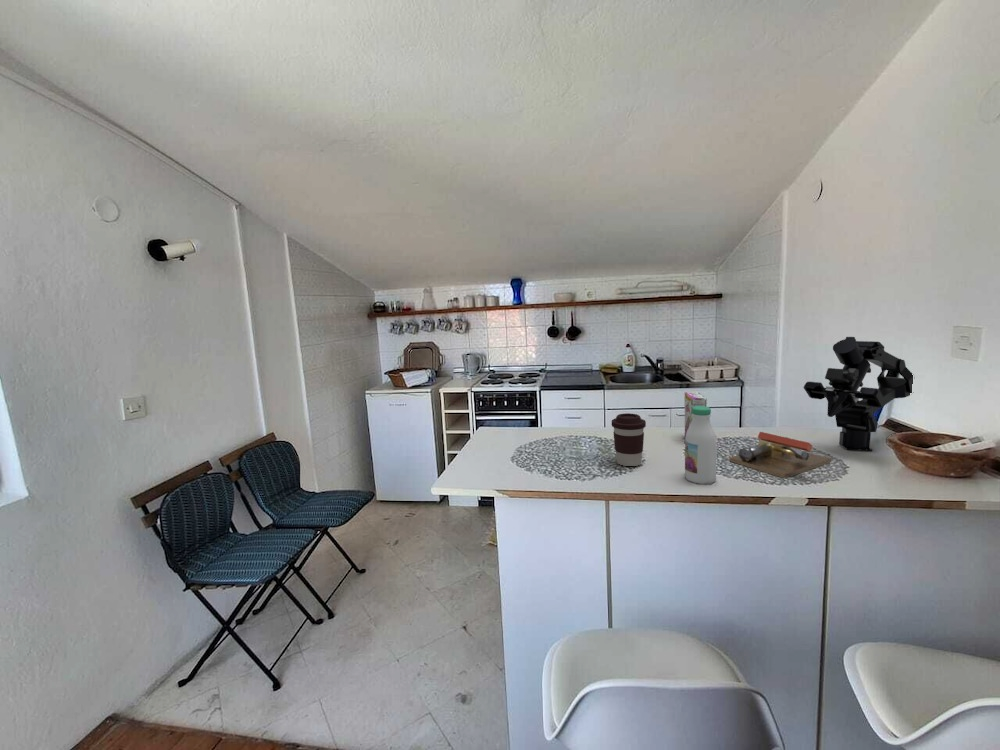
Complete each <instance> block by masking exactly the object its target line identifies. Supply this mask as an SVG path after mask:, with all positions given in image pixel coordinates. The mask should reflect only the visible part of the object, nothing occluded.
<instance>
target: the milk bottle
mask: <svg viewBox="0 0 1000 750" xmlns="http://www.w3.org/2000/svg"><path fill="white" fill-rule="evenodd" d="M711 411H712V409H711V408H710V407H709V406H706V407H705V406H695V407H692V416H693V418H692V422H691V424H690V426H689V428H688V430H687V433H686V437H685V442H684V446H685V447H684V477H685V479H686V480H687V481H689V482H691V483H694V484H699V485H709V484H713V483H715V482H716V480H717V454H718V453H717V447H718V446H717V435H716V432H715V430H714V428H713V425H712V423H711V419H710V417H711V413H712V412H711Z"/></svg>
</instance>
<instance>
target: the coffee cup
mask: <svg viewBox="0 0 1000 750" xmlns="http://www.w3.org/2000/svg"><path fill="white" fill-rule="evenodd" d="M646 424H647V423H646V420H645V419H643V418H641V416H640V415H639V414H637V413H636V414H635V413H630V412H627V413H620V414H617V415H616V416H615V418H613V419H612V420H611V427H612V428H613V443H614V451H615V456H616V457H615V459H616V464H618V465H619V464H620V465H619V466H621V465H623V466H622V467H625V466H636V467H638V465H639V466H641V464H642V457H643V451H644V438H645V431H644V430H645V428H646V426H647V425H646Z"/></svg>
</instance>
